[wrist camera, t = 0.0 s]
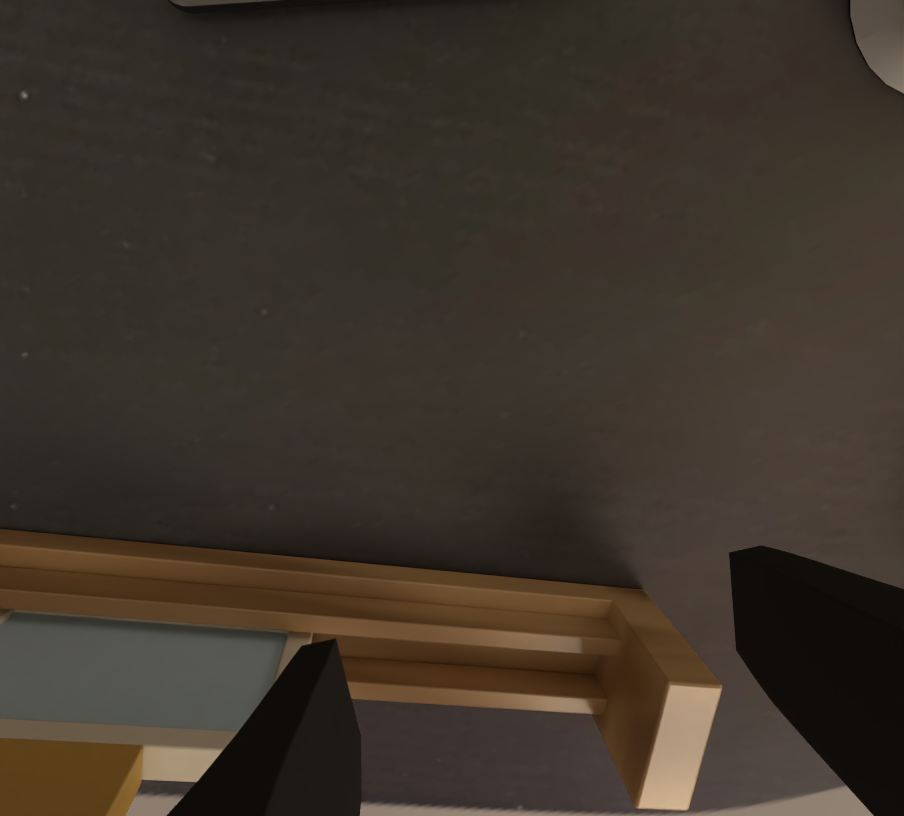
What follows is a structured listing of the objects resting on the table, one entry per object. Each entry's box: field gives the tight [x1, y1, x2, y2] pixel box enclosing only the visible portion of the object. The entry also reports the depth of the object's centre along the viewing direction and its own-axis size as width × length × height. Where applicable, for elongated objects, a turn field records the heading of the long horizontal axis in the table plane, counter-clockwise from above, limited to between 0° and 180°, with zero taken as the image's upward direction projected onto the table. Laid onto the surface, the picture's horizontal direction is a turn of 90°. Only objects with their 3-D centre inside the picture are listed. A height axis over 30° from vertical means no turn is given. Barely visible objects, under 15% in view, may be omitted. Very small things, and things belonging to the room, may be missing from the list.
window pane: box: [0, 608, 313, 816], centre depth 14 cm, size 1×9×8 cm, turn 81°
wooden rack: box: [0, 529, 722, 811], centre depth 17 cm, size 4×22×5 cm, turn 81°
